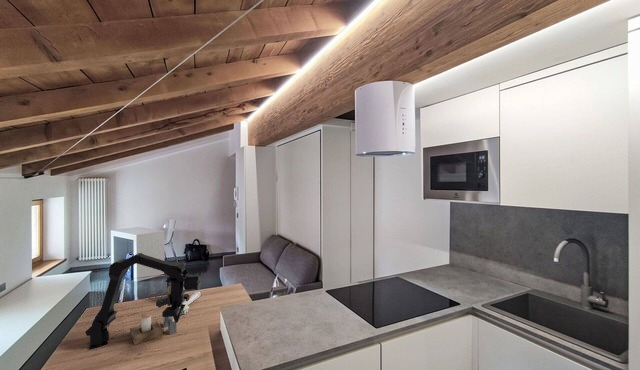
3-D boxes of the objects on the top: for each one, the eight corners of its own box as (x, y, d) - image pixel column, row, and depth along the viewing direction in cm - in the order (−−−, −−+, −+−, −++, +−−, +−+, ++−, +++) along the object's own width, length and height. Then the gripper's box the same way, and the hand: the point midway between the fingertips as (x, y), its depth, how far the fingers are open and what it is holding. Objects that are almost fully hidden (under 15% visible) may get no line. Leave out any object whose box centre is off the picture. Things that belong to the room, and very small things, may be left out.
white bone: (202, 290, 183) (186, 301, 158) (201, 301, 182) (186, 314, 157) (194, 290, 182) (177, 302, 157) (193, 301, 181) (176, 314, 157)
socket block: (134, 344, 128) (134, 338, 128) (130, 334, 137) (130, 328, 137) (162, 335, 136) (162, 329, 136) (156, 326, 145) (156, 320, 145)
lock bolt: (172, 321, 135) (172, 317, 135) (168, 317, 140) (168, 313, 140) (176, 320, 137) (176, 316, 137) (173, 316, 141) (173, 312, 141)
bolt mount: (169, 334, 137) (169, 320, 137) (163, 325, 145) (163, 312, 145) (176, 332, 139) (176, 318, 139) (169, 323, 147) (169, 310, 147)
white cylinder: (142, 338, 134) (142, 317, 134) (140, 334, 137) (140, 314, 137) (151, 335, 137) (152, 315, 136) (150, 331, 140) (150, 312, 139)
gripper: (167, 283, 141) (166, 313, 141) (149, 299, 123) (149, 334, 123) (190, 282, 143) (189, 312, 143) (176, 298, 124) (176, 332, 125)
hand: (176, 322), depth 133 cm, fingers closed
